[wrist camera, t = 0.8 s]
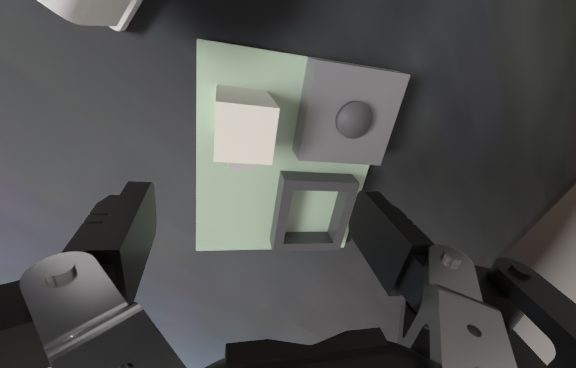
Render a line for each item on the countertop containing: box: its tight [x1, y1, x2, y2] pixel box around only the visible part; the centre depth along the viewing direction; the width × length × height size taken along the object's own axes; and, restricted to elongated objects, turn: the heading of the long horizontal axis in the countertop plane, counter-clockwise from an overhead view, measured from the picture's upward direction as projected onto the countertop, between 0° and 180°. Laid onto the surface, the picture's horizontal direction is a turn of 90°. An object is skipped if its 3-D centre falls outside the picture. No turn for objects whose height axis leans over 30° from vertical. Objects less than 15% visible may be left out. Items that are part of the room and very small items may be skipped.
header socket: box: [270, 171, 360, 252], centre depth 29 cm, size 8×8×2 cm
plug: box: [213, 85, 280, 172], centre depth 21 cm, size 5×4×6 cm
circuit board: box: [196, 39, 410, 251], centre depth 26 cm, size 20×17×4 cm
